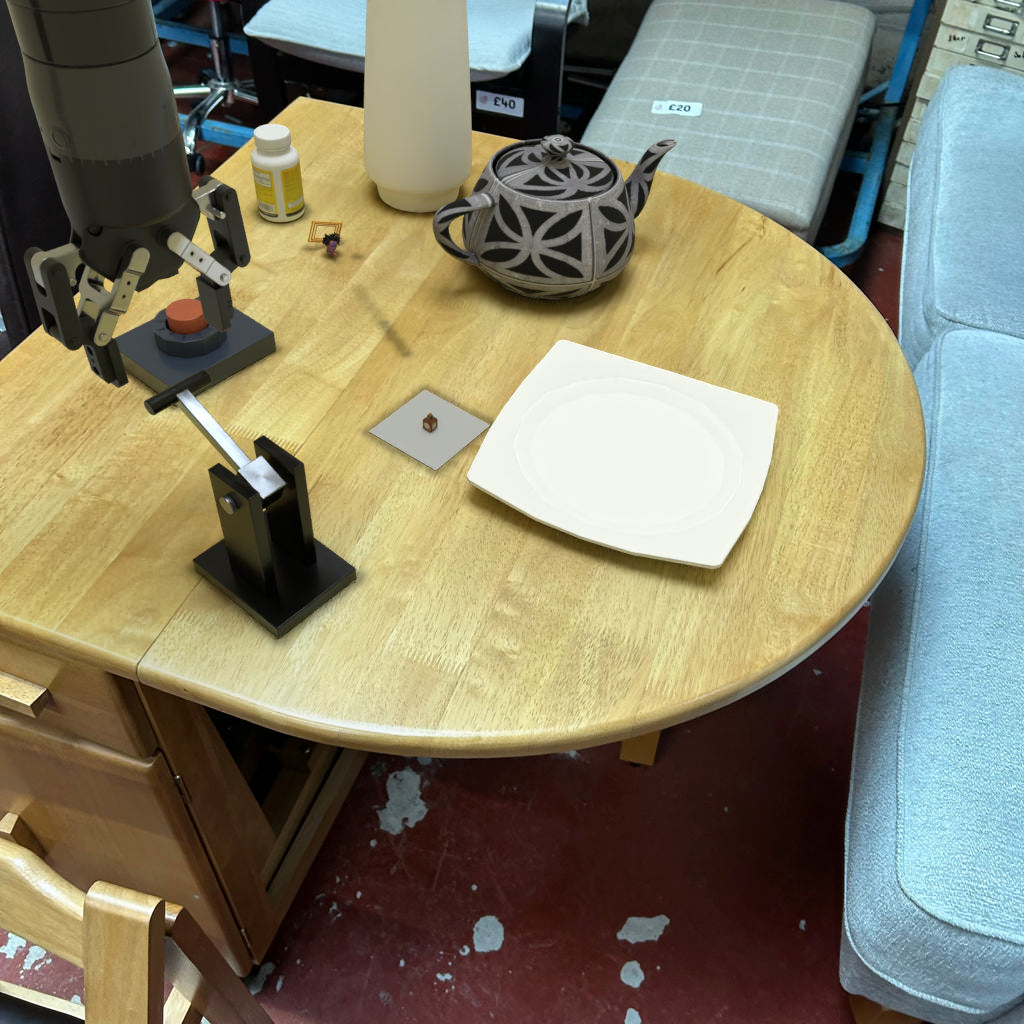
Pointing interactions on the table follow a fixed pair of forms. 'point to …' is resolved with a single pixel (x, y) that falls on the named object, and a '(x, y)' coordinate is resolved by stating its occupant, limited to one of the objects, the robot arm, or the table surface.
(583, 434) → the plate
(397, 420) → the grey square pad
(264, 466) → the press lever
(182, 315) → the button
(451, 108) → the vase
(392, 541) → the table surface
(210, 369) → the button box
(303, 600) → the lever bracket
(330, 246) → the figurine with orange frame
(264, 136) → the supplement bottle
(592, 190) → the teapot
